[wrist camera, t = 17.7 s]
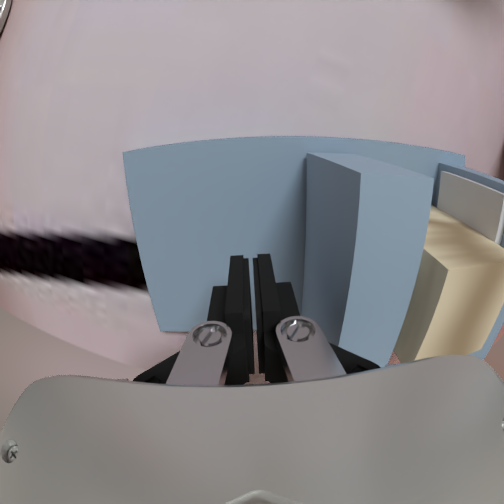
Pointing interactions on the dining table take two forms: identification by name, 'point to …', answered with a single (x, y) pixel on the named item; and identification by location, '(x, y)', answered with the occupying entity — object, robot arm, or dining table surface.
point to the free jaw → (362, 249)
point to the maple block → (452, 292)
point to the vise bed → (264, 211)
